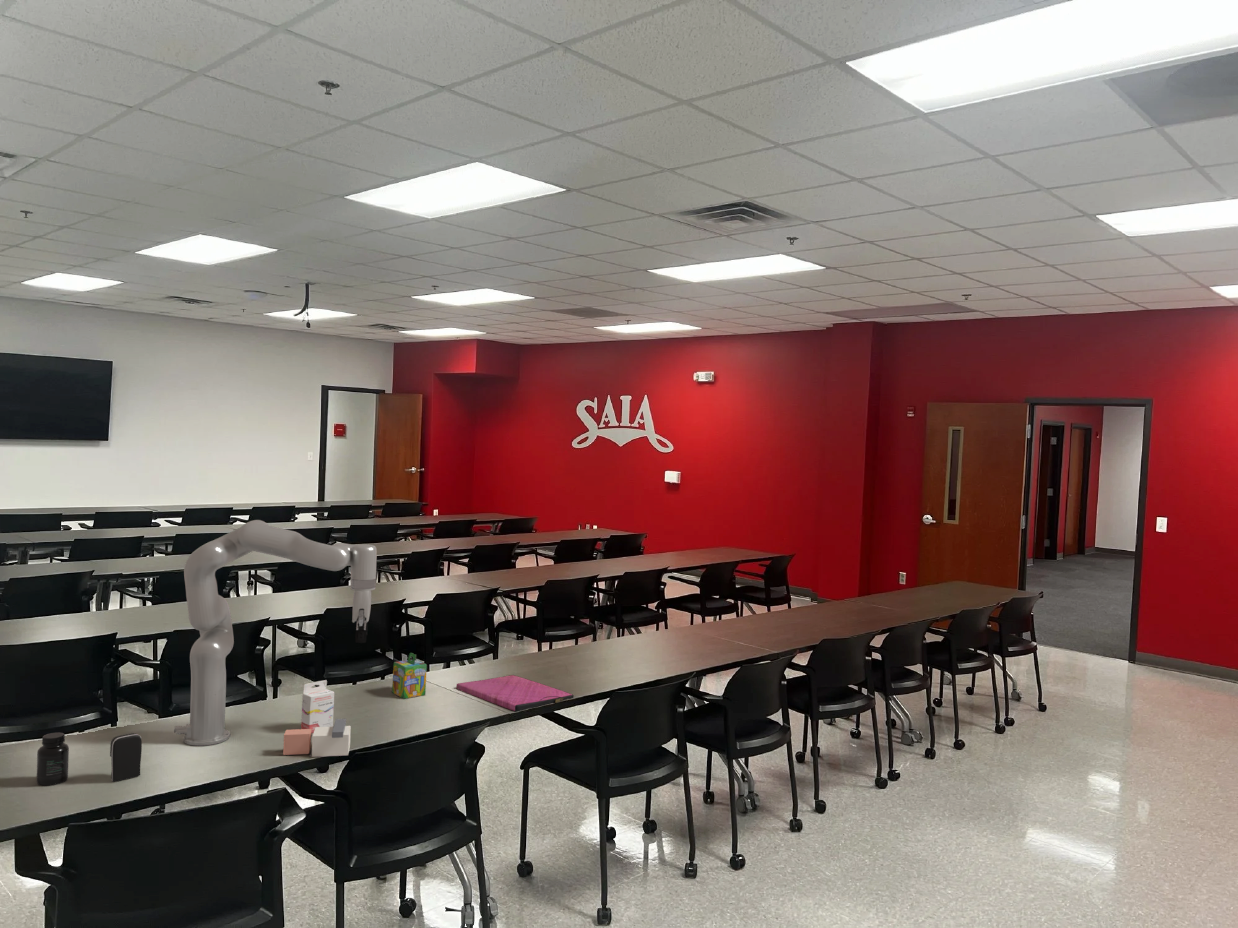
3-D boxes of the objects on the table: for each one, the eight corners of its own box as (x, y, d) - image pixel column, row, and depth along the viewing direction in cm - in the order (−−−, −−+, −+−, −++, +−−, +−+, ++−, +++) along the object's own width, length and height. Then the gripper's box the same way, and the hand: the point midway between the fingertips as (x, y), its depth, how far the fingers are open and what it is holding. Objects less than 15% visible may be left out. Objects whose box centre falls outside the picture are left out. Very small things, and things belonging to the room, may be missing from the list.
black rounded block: (136, 772, 228) (138, 730, 228) (141, 776, 225) (142, 733, 225) (107, 778, 223) (108, 735, 223) (112, 783, 220) (113, 739, 220)
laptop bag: (455, 679, 317) (512, 669, 337) (455, 690, 317) (512, 679, 337) (523, 703, 289) (581, 691, 309) (522, 715, 289) (580, 702, 309)
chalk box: (391, 693, 308) (392, 652, 308) (414, 689, 314) (415, 649, 314) (403, 699, 301) (404, 658, 301) (426, 695, 307) (427, 654, 307)
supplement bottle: (37, 778, 221) (38, 733, 221) (68, 774, 225) (69, 729, 225) (35, 788, 215) (36, 741, 215) (67, 783, 219) (68, 737, 219)
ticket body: (308, 759, 242) (309, 733, 242) (313, 744, 253) (314, 719, 253) (347, 757, 244) (348, 731, 244) (350, 743, 256) (351, 718, 256)
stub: (283, 754, 244) (283, 734, 243) (285, 749, 248) (286, 729, 248) (308, 753, 245) (309, 733, 245) (310, 748, 250) (311, 728, 250)
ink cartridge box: (309, 734, 262) (310, 687, 262) (300, 730, 265) (302, 684, 265) (333, 728, 269) (335, 682, 268) (325, 724, 272) (326, 678, 271)
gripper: (352, 579, 270) (350, 633, 271) (348, 589, 254) (347, 645, 254) (376, 579, 272) (374, 632, 273) (374, 588, 256) (373, 645, 256)
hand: (361, 638), depth 263 cm, fingers open, 9 cm apart
